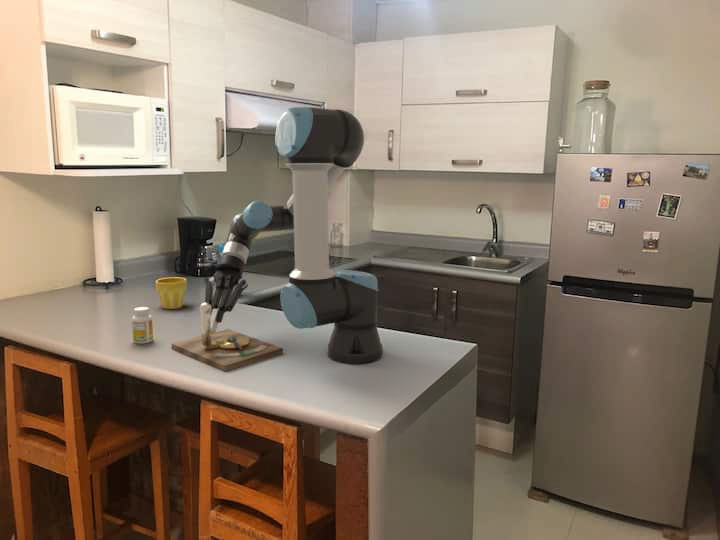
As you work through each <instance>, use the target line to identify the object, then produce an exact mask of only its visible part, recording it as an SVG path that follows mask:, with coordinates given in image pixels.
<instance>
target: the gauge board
mask: <svg viewBox="0 0 720 540" xmlns="http://www.w3.org/2000/svg"><path fill="white" fill-rule="evenodd" d="M227 336H243V337H246V338H248V339H249V345H248V346H246V347H244V348H242V349H243V351H240V350H239V349H233V350H226V349H220V348H212V349H205V347H204V346H203V345H202V335H200V336H196V337H191V338H188V339H184V340H180V341H176V342H174V343H171V349H172V350H174V351H176V352H178V353H181V354H183V355H186V356H188V357H190V358H193V359H195V360H197V361H200V362H202V363H204V364H205V365H209V366H212V367H213V368H216V369H218V370H220V371H223V372H229V371H231V369H232V370H234V368H235V369H238V368H241V367H244V366H247V364H248V365H250V364H249V363H251V364H253V362H254V363H257V362H259V360H260V361H263V360H265V359H270V358H273V357H276V356H279V355H281V354H283V353H284V347H281V346H278V345H275V344H273V343H270V342H267V341H264V340H261V339H257V338H255V337H253V336H249V335H247V334H243V333H240V332H237V331H234V330H232V329H229V328H228V329H223V330H219V331H217V332H215V334H211V337H212V342H216V340H217V339H219V338H222V337H227ZM272 356H273V357H272ZM269 357H270V358H269ZM262 359H263V360H262ZM256 361H257V362H256ZM240 366H241V367H240ZM237 367H238V368H237ZM228 370H229V371H228Z"/></svg>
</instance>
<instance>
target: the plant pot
mask: <svg viewBox="0 0 720 540" xmlns="http://www.w3.org/2000/svg"><path fill="white" fill-rule="evenodd" d="M187 284H188V282H187V279H186V278H185V277H176V276H175V277H173V276H172V277H163V278H159V279H156V281H155V289H156V291H157V292H158V295H159V298H160V299H159V300H160V301H161V306H162V308H163V309H166V310H173V309H174V310H176V309H180V308H182V307H183V305H184V299H185V293H186V290H187V289H188V288H187V287H188V285H187Z"/></svg>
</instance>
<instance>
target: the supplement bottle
mask: <svg viewBox="0 0 720 540" xmlns="http://www.w3.org/2000/svg"><path fill="white" fill-rule="evenodd" d="M149 313H150V308H149V307H147V306H140V307H135V308H133V314H134V315H133V316H132V319H131V323H132V339H133V342H134V343H135V344H149V343H151V342H152V341H153V340H154V332H153V319H152V318H153V317H152V315H151V314H149Z"/></svg>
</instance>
